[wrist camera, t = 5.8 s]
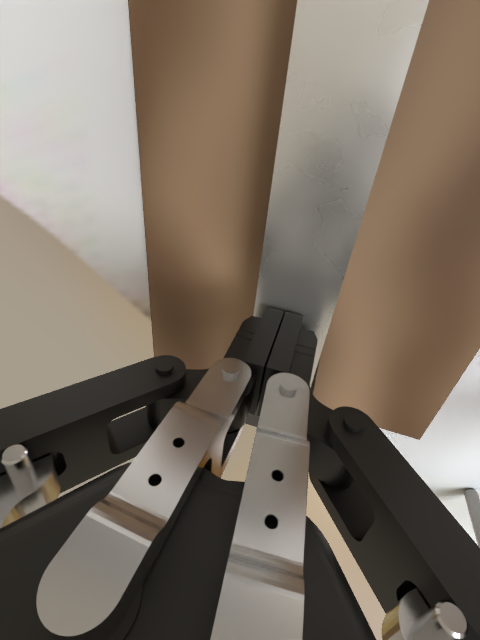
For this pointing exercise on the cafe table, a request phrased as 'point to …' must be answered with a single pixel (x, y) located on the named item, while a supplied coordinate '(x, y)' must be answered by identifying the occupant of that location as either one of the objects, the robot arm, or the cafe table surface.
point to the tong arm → (330, 149)
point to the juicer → (474, 511)
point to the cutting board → (255, 187)
